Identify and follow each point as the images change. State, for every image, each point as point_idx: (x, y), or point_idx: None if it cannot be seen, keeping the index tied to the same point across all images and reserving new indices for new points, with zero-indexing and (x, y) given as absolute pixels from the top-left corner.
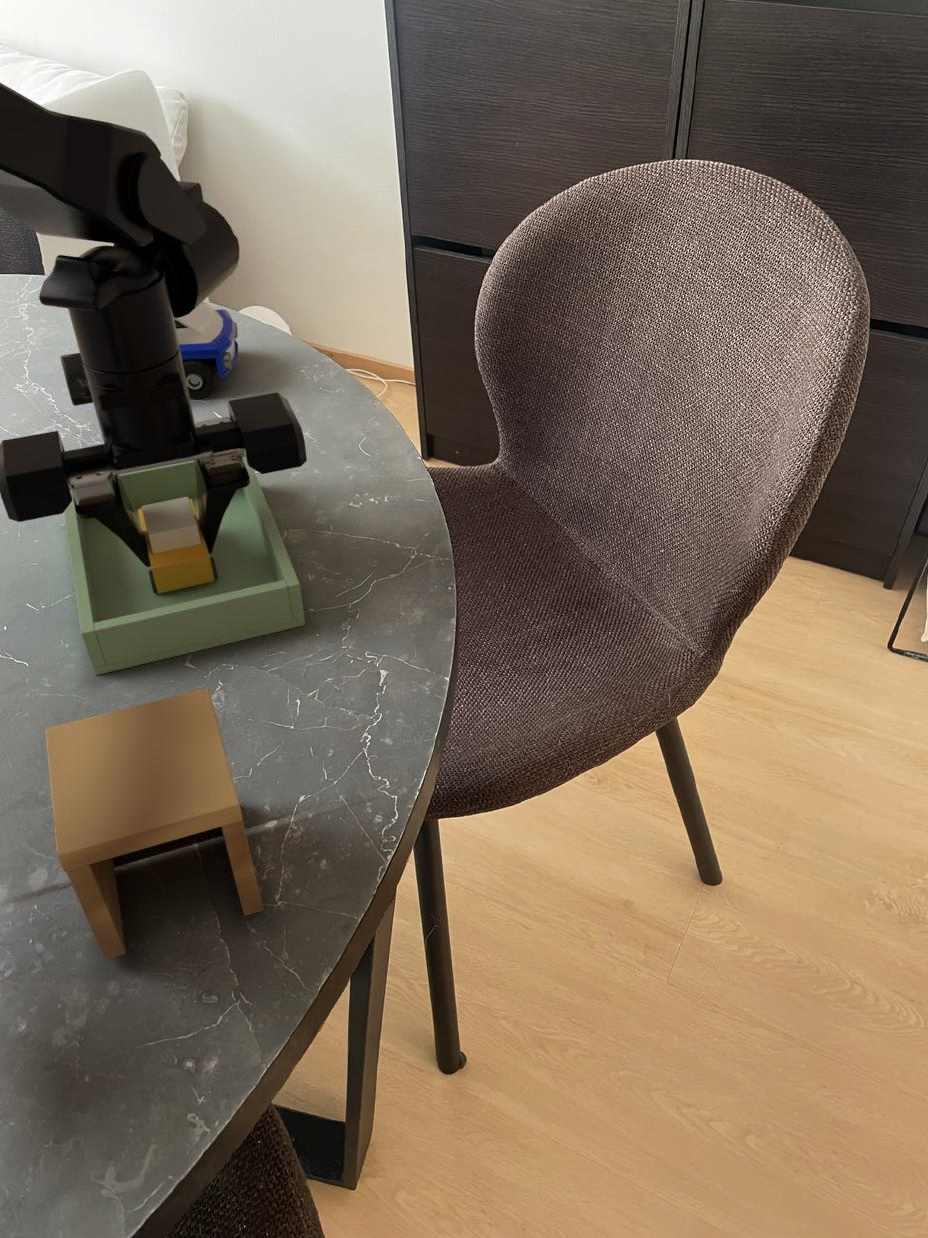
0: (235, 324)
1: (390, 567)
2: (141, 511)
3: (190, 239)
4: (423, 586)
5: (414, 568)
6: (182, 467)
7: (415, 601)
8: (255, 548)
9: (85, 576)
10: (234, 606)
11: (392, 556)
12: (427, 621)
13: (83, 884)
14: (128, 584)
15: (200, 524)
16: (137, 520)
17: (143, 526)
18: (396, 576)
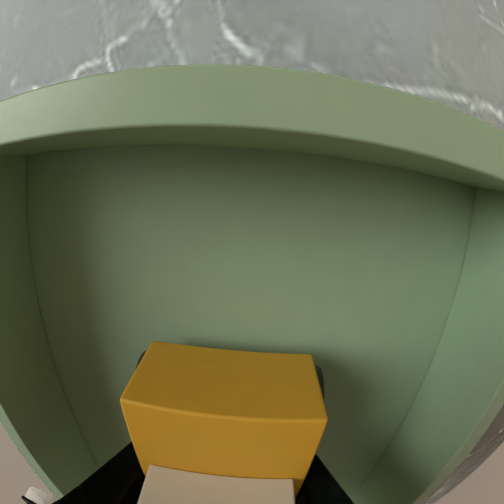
0: None
1: (477, 445)
2: (131, 416)
3: None
4: (470, 466)
5: (487, 446)
6: (386, 150)
7: (450, 481)
8: (385, 425)
9: (60, 492)
10: None
11: (492, 430)
12: (435, 496)
13: None
14: (125, 427)
15: (297, 499)
16: (125, 498)
17: (142, 464)
18: (469, 456)
